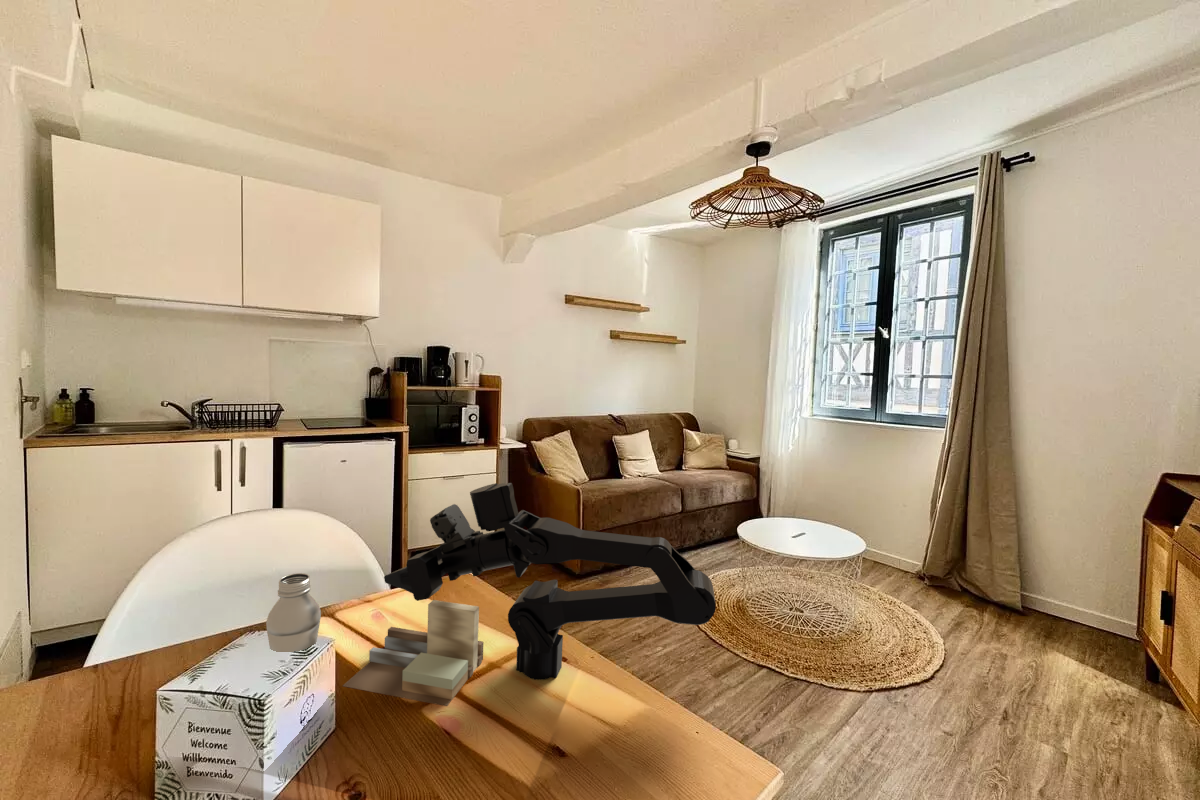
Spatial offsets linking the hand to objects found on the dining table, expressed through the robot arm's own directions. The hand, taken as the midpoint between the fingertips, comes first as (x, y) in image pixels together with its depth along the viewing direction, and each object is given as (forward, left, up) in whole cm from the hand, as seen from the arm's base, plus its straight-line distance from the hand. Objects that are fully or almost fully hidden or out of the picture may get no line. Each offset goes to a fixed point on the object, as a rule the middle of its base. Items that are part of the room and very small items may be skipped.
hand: (401, 569), depth 85 cm
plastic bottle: (+4, +18, -15) cm, 24 cm away
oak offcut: (-11, +7, -14) cm, 19 cm away
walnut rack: (-6, +5, -15) cm, 17 cm away
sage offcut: (-11, +7, -12) cm, 18 cm away
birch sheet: (-11, +2, -14) cm, 18 cm away
